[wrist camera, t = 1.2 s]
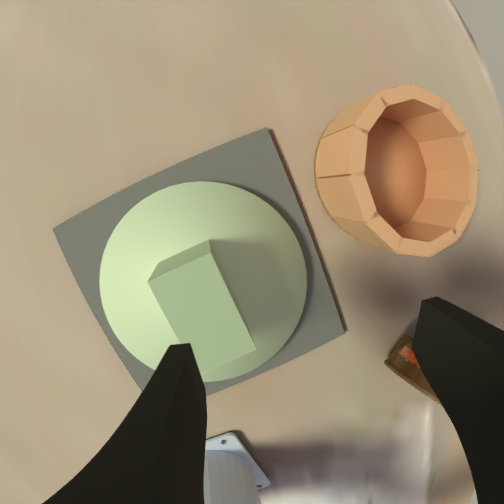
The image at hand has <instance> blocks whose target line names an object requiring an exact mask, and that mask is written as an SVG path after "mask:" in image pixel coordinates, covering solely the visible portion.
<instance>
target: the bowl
mask: <svg viewBox="0 0 504 504" xmlns="http://www.w3.org/2000/svg"><path fill="white" fill-rule="evenodd" d="M466 130H467V128H466V127H465V126H464V124H463V123H462V122H461V120H460V119H459V118H458V116H457V115H456V114H455V113H454V111H453V110H452V109H451V108H450V106H449V105H448V104H447V103H446V101H445V100H443V98H441V97H438V96H436V95H434V94H432V93H430V92H428V91H425V90H423V89H421V88H419V87H416V86H414V85H405V86H401V87H396V88H392V89H388V90H384V91H380V92H377V93H375V94H373V95H371V96H369V97H367V98H365V99H363V100H361V101H360V102H358V103H356V104H354V105H352V106H350V107H348V108H346V109H344V110H343V111H341V112H340V114H339V115H338V116H337V117H336V118H335V119H334V120H333V121H332V122H331V123H330V124H329V125H328V126H327V128H326V129H325V131H324V132H323V134H322V136H321V138H320V140H319V143H318V146H317V150H316V155H315V164H314V173H315V182H316V187H317V191H318V194H319V197H320V199H321V202H322V204H323V206H324V208H325V209H326V211H327V213H328V214H329V216H330V217H331V218H332V219H333V221H334V222H335V223H336V224H337V225H338V226H339V227H340V228H341V229H343V230H344V231H345V232H347V233H348V234H350V235H352V236H353V237H354V238H355V239H357V240H358V241H362V242H365V243H368V244H371V245H374V246H377V247H380V248H383V249H386V250H389V251H392V252H395V253H399V254H407V255H415V256H423V257H432V256H433V255H435V254H437V253H438V252H440V251H441V250H443V249H445V248H446V247H448V246H449V245H451V244H453V243H454V242H456V241H457V240H458V239H459V238H460V236H461V234H462V232H463V230H464V229H465V227H466V225H467V223H468V221H469V219H470V217H471V215H472V213H473V211H474V209H475V208H474V207H476V197H477V185H478V170H479V169H477V168H478V164H477V160H476V157H475V153H474V149H473V146H472V143H471V139H470V136H469V133H468V130H467V131H466Z"/></svg>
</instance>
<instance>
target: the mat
mask: <svg viewBox="0 0 504 504" xmlns="http://www.w3.org/2000/svg"><path fill="white" fill-rule="evenodd" d="M197 181H205V182H218V183H223V184H229V185H232V186H235V187H238V188H241V189H244V190H246V191H248V192H250V193H252V194H254V195H256V196H257V197H259V198H260V199H262V200H263V201H265V202H266V203H268V204H269V205H270V206H271V207H272V208H274V209H275V210H276V211H277V212H278V213H279V214H280V215H281V216H282V218H283V219H284V220H285V221H286V222H287V223H288V225H289V227H290V228H291V230H292V231H293V233H294V234H295V236H296V238H297V241H298V243H299V245H300V247H301V250H302V253H303V257H304V260H305V266H306V272H307V291H306V299H305V304H304V308H303V311H302V314H301V317H300V319H299V322H298V324H297V326H296V328H295V330H294V331H293V333H292V335H291V336H290V338H289V339H288V340H287V342H286V343H285V344H284V346H283V347H282V348H281V349H280V350H279V351H278V352H277V353H276V354H275V355H274V356H273V357H271V358H270V359H269V360H268V361H266V362H265V363H263V364H262V365H260V366H259V367H257V368H256V369H254V370H252V371H250V372H248V373H246V374H243V375H240V376H237V377H234V378H231V379H226V380H222V381H213V382H203V383H204V386H205V389H206V396H207V395H210V394H213V393H215V392H218V391H220V390H223V389H225V388H228V387H230V386H233V385H235V384H238V383H240V382H243V381H245V380H247V379H250V378H252V377H255V376H257V375H259V374H261V373H264V372H266V371H268V370H271V369H273V368H275V367H277V366H279V365H282V364H284V363H286V362H288V361H290V360H293V359H295V358H297V357H299V356H301V355H303V354H305V353H307V352H309V351H311V350H313V349H315V348H317V347H319V346H321V345H323V344H325V343H327V342H329V341H331V340H333V339H335V338H337V337H339V336H341V335H343V334H345V332H344V329H343V326H342V323H341V320H340V317H339V314H338V311H337V308H336V305H335V302H334V299H333V296H332V294H331V291H330V288H329V285H328V282H327V279H326V276H325V274H324V271H323V268H322V265H321V262H320V260H319V257H318V254H317V251H316V249H315V246H314V243H313V241H312V238H311V235H310V233H309V230H308V227H307V225H306V222H305V219H304V217H303V214H302V212H301V209H300V207H299V204H298V201H297V199H296V196H295V194H294V191H293V189H292V186H291V184H290V181H289V179H288V176H287V174H286V172H285V169H284V167H283V164H282V162H281V159H280V157H279V155H278V152H277V150H276V148H275V145H274V143H273V141H272V138H271V136H270V134H269V131H268V129H267V127H266V128H264V129H261V130H258V131H256V132H253V133H250V134H248V135H245V136H242V137H240V138H237V139H235V140H232V141H230V142H227V143H225V144H222V145H220V146H217V147H215V148H212V149H210V150H208V151H205V152H203V153H201V154H198V155H196V156H194V157H191V158H189V159H187V160H184V161H182V162H180V163H178V164H176V165H173V166H171V167H169V168H167V169H165V170H162V171H160V172H158V173H156V174H154V175H152V176H150V177H148V178H146V179H144V180H142V181H139V182H137V183H135V184H133V185H131V186H129V187H127V188H125V189H124V190H122V191H120V192H118V193H116V194H114V195H112V196H110V197H108V198H106V199H104V200H102V201H101V202H99V203H97V204H95V205H93V206H91V207H90V208H88V209H86V210H84V211H82V212H81V213H79V214H77V215H75V216H74V217H72V218H70V219H68V220H67V221H65V222H63V223H61V224H60V225H58V226H56V227H55V228H53V231H54V234H55V236H56V238H57V241H58V243H59V245H60V247H61V250H62V252H63V254H64V256H65V258H66V261H67V263H68V265H69V267H70V269H71V271H72V273H73V275H74V277H75V279H76V281H77V283H78V285H79V287H80V289H81V291H82V293H83V295H84V297H85V299H86V301H87V303H88V304H89V306H90V308H91V310H92V312H93V314H94V315H95V317H96V319H97V321H98V323H99V324H100V326H101V328H102V329H103V331H104V333H105V335H106V336H107V338H108V340H109V341H110V343H111V345H112V346H113V348H114V349H115V351H116V353H117V354H118V356H119V357H120V359H121V361H122V362H123V364H124V365H125V367H126V368H127V370H128V371H129V373H130V374H131V376H132V377H133V379H134V380H135V382H136V383H137V385H138V386H139V388H140V389H141V390H142V391H143V390H144V388H145V386H146V385H147V383H148V382H149V380H150V378H151V377H152V375H153V373H154V371H155V370H154V369H152V368H150V367H148V366H147V365H145V364H144V363H142V362H141V361H139V360H138V359H137V358H136V357H135V356H133V355H132V354H131V353H130V352H129V351H128V350H127V349H126V348H125V346H124V345H123V344H122V343H121V342H120V341H119V339H118V338H117V336H116V335H115V333H114V332H113V330H112V328H111V326H110V324H109V322H108V320H107V317H106V315H105V312H104V309H103V305H102V300H101V295H100V283H99V278H100V266H101V262H102V257H103V253H104V250H105V248H106V245H107V242H108V240H109V238H110V236H111V234H112V233H113V231H114V229H115V227H116V226H117V225H118V223H119V222H120V221H121V219H122V218H123V217H124V216H125V215H126V214H127V213H128V212H129V211H130V210H131V209H132V208H133V207H134V206H135V205H137V204H138V203H139V202H140V201H142V200H143V199H144V198H146V197H148V196H150V195H151V194H153V193H155V192H157V191H159V190H162V189H164V188H167V187H170V186H173V185H177V184H182V183H187V182H197Z"/></svg>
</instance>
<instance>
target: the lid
mask: <svg viewBox="0 0 504 504" xmlns="http://www.w3.org/2000/svg"><path fill="white" fill-rule="evenodd" d="M99 283H100V295H101V300H102V305H103V309H104V312H105V315H106V317H107V320H108V322H109V324H110V326H111V328H112V330H113V332H114V333H115V335H116V336H117V338H118V339H119V341H120V342H121V343H122V344H123V345H124V346H125V348H126V349H127V350H128V351H129V352H130V353H131V354H132V355H133V356H135V357H136V358H137V359H138V360H139V361H141V362H142V363H144V364H145V365H147V366H148V367H150V368H152V369H154V370H156V368H157V366H158V364H159V363H160V361H161V359H162V357H163V355H164V354H165V352H166V350H167V348H168V347H169V346H170V345H174V344H184V343H191V346H192V349H193V353H194V356H195V359H196V362H197V365H198V368H199V371H200V374H201V377H202V380H203V382H213V381H222V380H226V379H231V378H234V377H237V376H240V375H243V374H246V373H248V372H250V371H252V370H254V369H256V368H257V367H259V366H260V365H262V364H263V363H265V362H266V361H268V360H269V359H270V358H271V357H273V356H274V355H275V354H276V353H277V352H278V351H279V350H280V349H281V348H282V347H283V346H284V344H285V343H286V342H287V340H288V339H289V338H290V336H291V335H292V333H293V331H294V330H295V328H296V326H297V324H298V322H299V319H300V317H301V314H302V311H303V308H304V304H305V299H306V291H307V272H306V266H305V260H304V257H303V253H302V250H301V247H300V245H299V243H298V241H297V238H296V236H295V234H294V233H293V231H292V230H291V228H290V227H289V225H288V223H287V222H286V221H285V220H284V219H283V218H282V216H281V215H280V214H279V213H278V212H277V211H276V210H275V209H274V208H272V207H271V206H270V205H269V204H268V203H266V202H265V201H263V200H262V199H260V198H259V197H257V196H256V195H254V194H252V193H250V192H248V191H246V190H244V189H241V188H238V187H235V186H232V185H229V184H223V183H218V182H205V181H197V182H187V183H182V184H177V185H173V186H170V187H167V188H164V189H162V190H159V191H157V192H155V193H153V194H151V195H150V196H148V197H146V198H144V199H143V200H142V201H140V202H139V203H138V204H137V205H135V206H134V207H133V208H132V209H131V210H130V211H129V212H128V213H127V214H126V215H125V216H124V217H123V218H122V219H121V221H120V222H119V223H118V225H117V226H116V227H115V229H114V231H113V233H112V234H111V236H110V238H109V240H108V242H107V245H106V248H105V250H104V253H103V257H102V262H101V266H100V278H99Z"/></svg>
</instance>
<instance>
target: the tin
mask: <svg viewBox="0 0 504 504" xmlns="http://www.w3.org/2000/svg"><path fill="white" fill-rule="evenodd" d="M412 344H413V340H412V339H411V338H410V337H409V336H404V337H403V338H402V339H401V340H400V341H399V343H398V344H397V346H396V347H395V349H394V350H393V352H392V353H391V355H390V356H389V358H388V359H387V360H385V361H384V364H385V365H386V366H387V367H389V368H390V369H391V370H392V371H393V372H394V373H396V374H397V375H398V376H400V377H401V378H402V379H404V380H405V381H406V382H408V383H409V384H411V385H412V386H414V387H415V388H416V389H418V390H419V391H421V392H422V393H423V394H425V395H426V396H428V397H429V398H431V399H432V400H434V401H436V402H437V403H439V404H440V405H442V404H441V402H440V401H439V399H438V398H437V396H436V394H435V393H434V391H433V389H432V388H431V386H430V384H429V383H428V381H427V379H426V378H425V376H424V374H423V373H422V371H421V368H420V366H419V364H418V362H417V360H416V357H415V355H414V353H413V350H412Z"/></svg>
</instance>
